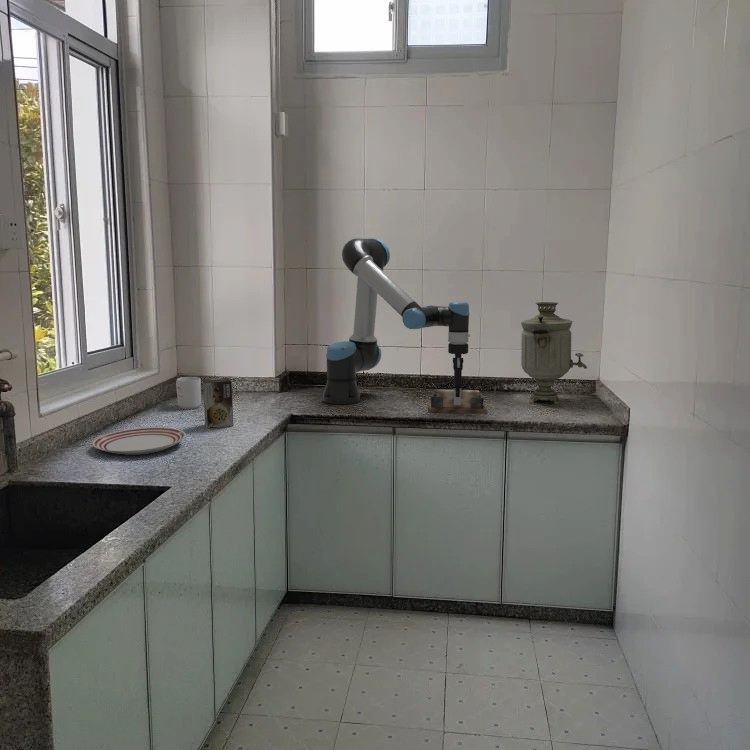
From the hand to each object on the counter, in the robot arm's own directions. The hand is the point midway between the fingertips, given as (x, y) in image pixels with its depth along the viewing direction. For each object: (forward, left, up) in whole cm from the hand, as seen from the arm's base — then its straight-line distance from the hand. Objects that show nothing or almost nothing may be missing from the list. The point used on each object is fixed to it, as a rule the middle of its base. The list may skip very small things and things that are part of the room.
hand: (457, 403), depth 274 cm
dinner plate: (-99, -62, -3) cm, 117 cm away
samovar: (+38, +18, -3) cm, 42 cm away
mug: (-104, -5, -3) cm, 104 cm away
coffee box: (-83, -33, -3) cm, 90 cm away
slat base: (0, 0, -2) cm, 3 cm away
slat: (0, 0, -1) cm, 1 cm away
